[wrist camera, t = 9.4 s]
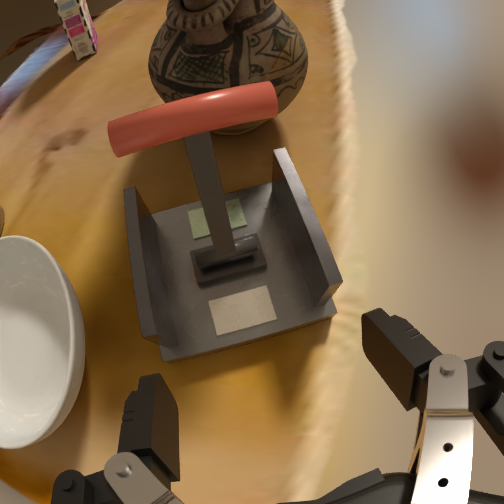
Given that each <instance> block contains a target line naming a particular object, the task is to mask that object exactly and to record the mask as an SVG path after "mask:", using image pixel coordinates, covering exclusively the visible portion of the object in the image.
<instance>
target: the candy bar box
mask: <svg viewBox="0 0 504 504" xmlns="http://www.w3.org/2000/svg"><path fill="white" fill-rule="evenodd" d="M54 3H55V6H56V8H57V11H58V14H59V16H60V19H61V21H62V25H63V27H64V30H65V32H66V35H67V37H68V40H69V42H70V45H71V47H72V50H73V52H74V55H75V57H76V59H77V61H79V60H81V59H84V58H86V57H88V56H90V55H93V54H95V53H96V52H97V34H96V31H95V28H94V25H93V23H92V20H91V17H90V14H89V11H88V7H87V4H86V1H85V0H55V1H54Z"/></svg>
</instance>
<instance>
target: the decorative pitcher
mask: <svg viewBox="0 0 504 504" xmlns="http://www.w3.org/2000/svg"><path fill="white" fill-rule="evenodd" d="M166 15H167V19H166V20H165V22H164V23H163V25H162V26H161V28H160V29H159V31H158V33H157V35H156V37H155V39H154V42H153V44H152V47H151V51H150V55H149V62H148V68H149V74H150V78H151V81H152V84H153V86H154V88H155V90H156V91H157V93H158V94H159V96H160V97H161V98H162V99H163V101H164V102H165V103H169V102H173V101H176V100H180V99H184V98H188V97H192V96H196V95H200V94H204V93H208V92H213V91H217V90H222V89H227V88H232V87H237V86H242V85H247V84H253V83H259V82H265V81H270V82H271V83H272V85H273V87H274V89H275V92H276V96H277V101H278V114H279V113H280V112H282V111H283V110H284V109H285V108H286V107H287V106H288V105H289V104H290V103H291V102H292V101H293V99H294V98H295V97H296V95H297V94H298V93H299V91H300V89H301V87H302V85H303V83H304V80H305V77H306V73H307V67H308V53H307V48H306V45H305V42H304V40H303V37H302V35H301V33H300V32H299V30H298V28H297V27H296V25H295V24H294V23H293V21H292V20H291V19H290V18H289V17H288V16H287V15H286V14H285V13H284V12H283V11H282V10H281V9H280V8H279V7H278V6H277V5H276V4H275V3H274V0H169V2H168V6H167V12H166ZM270 119H271V118H268V119H262V120H257V121H252V122H247V123H243V124H238V125H233V126H229V127H225V128H220V129H216V130H212V131H210V132H212V133H215V134H219V135H239V134H243V133H247V132H249V131H252V130H254V129H255V128H257V127H259V126H260V125H261V124H262V123H264V122H266V121H268V120H270Z"/></svg>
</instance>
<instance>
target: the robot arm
mask: <svg viewBox="0 0 504 504" xmlns="http://www.w3.org/2000/svg"><path fill="white" fill-rule="evenodd" d="M3 224H4V212H3V209H2V208H1V206H0V235H1V232H2V229H3ZM361 322H362V346H363V350H364V353H365V355H366V357H367V358H368V360H369V361H370V362H371V364H372V365H373V366H374V368H375V369H376V370H377V372H378V373H379V374H380V375H381V377H382V378H383V379H384V381H385V382H386V384H387V385H388V386H389V388H390V389H391V390H392V392H393V393H394V394H395V396H396V397H397V398H398V400H399V401H400V402H401V404H402V405H403V407H404V408H405V409H406V411H409V410H411V409H412V408H415V407H417V408H418V409H419V411H420V412H419V417H418V423H417V430H416V436H415V442H414V447H413V453H412V457H411V461H410V464H409V468H408V472H407V473H402V472H396V473H386V474H381V472H380V470H379V468H377V469H375V470H372V471H370V472H368V473H365V474H363V475H361V476H358V477H356V478H353V479H351V480H349V481H347V482H345V483H344V484H342V485H341V486H339V487H337V488H336V489H334V490H333V491H331V492H329V493H328V494H326V495H325V496H323V497H321V498H319V499H317V500H311V501H301V502H287V503H278V504H504V496H499V495H493V494H488V493H484V492H479V491H475V490H470V489H469V483H470V474H471V463H472V448H473V415H474V417H475V418H476V419H477V420H478V422H479V423H480V424H481V426H482V427H483V428H484V430H485V431H486V432H487V434H488V435H489V436H490V438H491V439H492V441H493V442H494V443H495V444H496V446H497V447H498V449H499V450H500V451H501V453H502V454H503V456H504V395H503V394H502V392H503V393H504V342H502V341H494V342H491V343H489V344H488V345H487V346H486V347H485V349H484V352H483V355H482V356H479V357H475V358H471V359H468V360H462V359H461V358H460V357H458V356H456V355H452V354H444V355H443V354H442V353H441V352H440V351H439V350H438V349H437V348H436V347H434V346H433V345H432V344H431V343H430V342H429V341H428V340H427V339H426V338H425V337H424V336H423V335H422V334H420V332H419V331H418V330H417V329H415V328H414V327H413V326H412V325H411V324H410V323H409V322H408V321H407V320H406V319H403V318H401V317H398V316H396V315H393V316H391V317H390V316H389V315H388V314H387V313H386V312H385V311H383V309H381V308H377V309H375V310H372V311H369V312H367V313H364V314H362V317H361ZM122 421H123V423H122V424H121V431H120V437H119V444H118V452H117V454H115V455H114V456H112V457H111V458H110V459H109V460H108V461H107V463H106V464H105V467H104V470H102V471H99V472H96V473H93V474H90V475H87V476H83V475H82V474H81V473H80V472H78V471H76V470H67V471H64V472H62V473H61V474H60V475H59V476H58V477H57V478H56V480H55V482H54V487H53V493H52V500H51V504H184V503H183V502H182V501H181V500H180V499H179V498H178V497H177V496H176V495H175V494H174V493H173V492H171V482H176V481H180V462H179V418H178V408H177V404H176V401H175V399H174V397H173V396H172V394H171V392H170V390H169V389H168V387H167V385H166V383H165V381H164V379H163V378H162V376H161V375H160V374H159V373H157V374H152V375H147V376H142V377H140V379H139V385H138V391H132V392H131V393H130V395H129V397H128V398H127V400H126V401H125V406H124V414H123V418H122Z"/></svg>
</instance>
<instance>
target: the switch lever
mask: <svg viewBox="0 0 504 504" xmlns="http://www.w3.org/2000/svg"><path fill="white" fill-rule="evenodd" d="M277 115H278V101H277V96H276V92H275V89H274V87H273V85H272V83H271V82H270V81H265V82H259V83H253V84H247V85H242V86H237V87H232V88H227V89H222V90H217V91H213V92H208V93H204V94H200V95H196V96H192V97H188V98H184V99H180V100H176V101H173V102H169V103H165V104H162V105H159V106H155V107H152V108H149V109H145V110H142V111H139V112H136V113H133V114H130V115H127V116H124V117H121V118H118V119H115V120H113V121H110V122H108V136H109V140H110V144H111V147H112V149H113V152H114V153H115V155H116V156H117V157H118V158H120V157H123V156H125V155H128V154H131V153H135V152H138V151H141V150H144V149H147V148H150V147H154V146H157V145H160V144H164V143H167V142H170V141H174V140H178V139H181V138H184V141H185V144H186V148H187V152H188V156H189V159H190V163H191V167H192V171H193V174H194V178H195V182H196V185H197V189H198V193H199V196H200V200H201V203H202V207H203V211H204V214H205V218H206V221H207V225H208V228H209V232H210V235H211V238H212V242H213V245H214V247H213V248H210V249H206V250H202V251H199V252H195V253H194V256H195V260H196V264H197V266H198V267H200V266H204V265H208V264H211V263H215V262H219V261H222V260H226V259H230V258H233V257H237V256H241V255H244V254H248V253H252V252H255V251H258V247H257V243H256V239H255V237H250V238H247V239H243V240H239V241H235V242H234V238H233V234H232V229H231V225H230V221H229V216H228V212H227V207H226V203H225V198H224V194H223V189H222V185H221V180H220V176H219V171H218V167H217V162H216V158H215V153H214V149H213V144H212V139H211V135H210V131H212V130H216V129H220V128H225V127H229V126H233V125H238V124H243V123H247V122H252V121H257V120H262V119H268V118H273V117H277Z"/></svg>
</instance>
